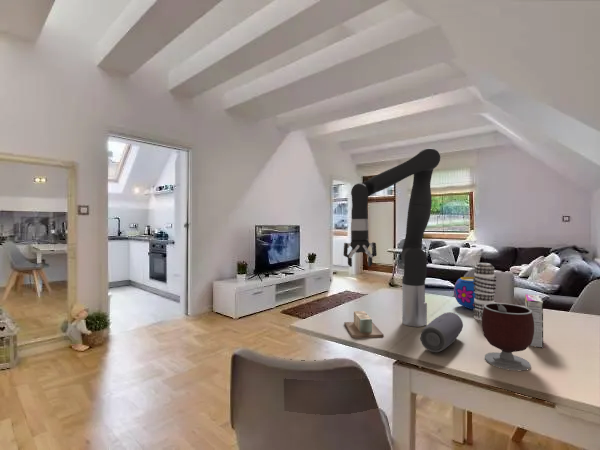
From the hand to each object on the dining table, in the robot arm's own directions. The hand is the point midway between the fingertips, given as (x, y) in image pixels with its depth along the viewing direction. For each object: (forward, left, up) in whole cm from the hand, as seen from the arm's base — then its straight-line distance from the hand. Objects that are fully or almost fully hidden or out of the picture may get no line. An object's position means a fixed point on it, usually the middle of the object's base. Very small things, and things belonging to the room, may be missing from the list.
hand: (360, 266), depth 144 cm
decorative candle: (-57, -1, -25) cm, 62 cm away
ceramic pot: (-62, -18, -25) cm, 69 cm away
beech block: (+2, +5, -21) cm, 22 cm away
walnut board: (+2, +11, -25) cm, 27 cm away
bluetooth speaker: (-23, +29, -25) cm, 44 cm away
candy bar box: (-57, +28, -25) cm, 69 cm away
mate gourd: (-35, +44, -25) cm, 62 cm away
